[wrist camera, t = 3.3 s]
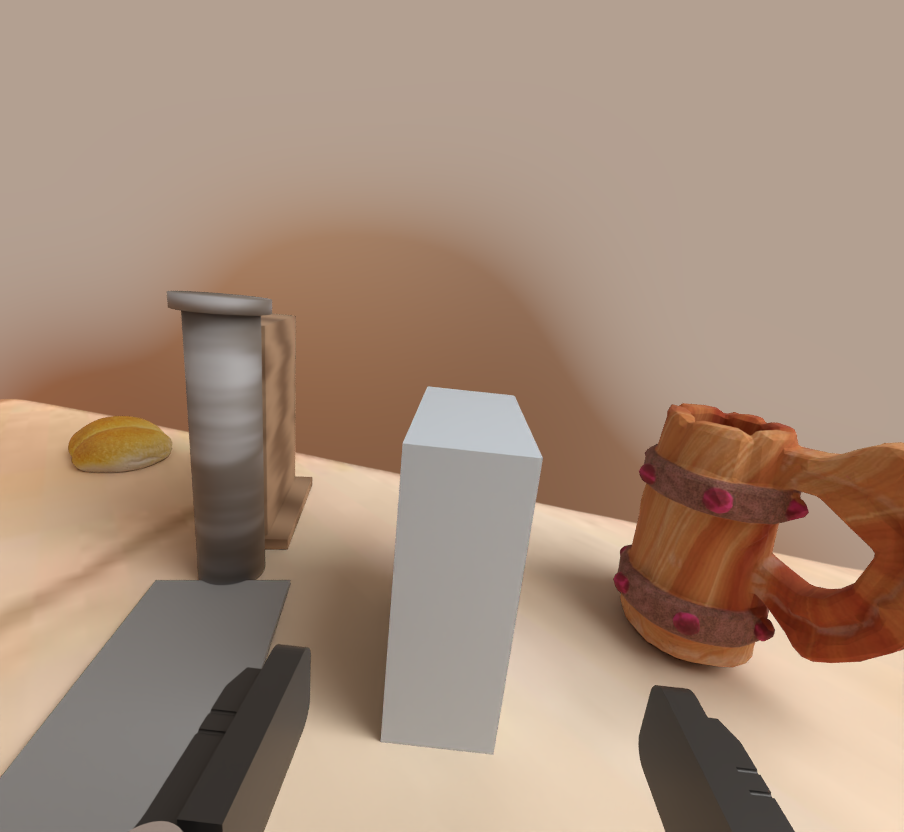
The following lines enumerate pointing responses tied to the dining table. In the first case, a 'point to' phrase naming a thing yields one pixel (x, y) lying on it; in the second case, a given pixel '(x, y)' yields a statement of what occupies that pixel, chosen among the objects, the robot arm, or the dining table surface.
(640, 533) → the mug
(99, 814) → the seat pad
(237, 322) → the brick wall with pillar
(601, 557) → the dining table surface
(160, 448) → the bread roll
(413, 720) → the light grey block
